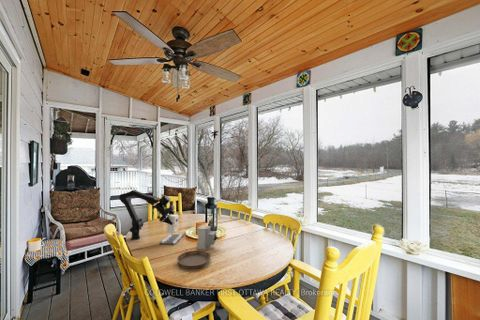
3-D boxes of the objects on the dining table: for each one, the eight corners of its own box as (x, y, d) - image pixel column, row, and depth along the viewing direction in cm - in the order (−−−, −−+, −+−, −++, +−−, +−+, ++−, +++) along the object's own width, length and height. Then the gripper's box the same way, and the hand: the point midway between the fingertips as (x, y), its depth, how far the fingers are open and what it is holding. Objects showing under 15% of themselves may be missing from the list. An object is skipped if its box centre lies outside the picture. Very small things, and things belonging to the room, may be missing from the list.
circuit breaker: (215, 250, 154) (215, 229, 155) (196, 248, 157) (196, 228, 158) (218, 246, 162) (218, 226, 162) (200, 245, 165) (200, 225, 165)
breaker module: (166, 232, 172) (168, 216, 173) (170, 230, 179) (171, 214, 179) (175, 233, 171) (176, 216, 172) (178, 230, 178) (179, 215, 178)
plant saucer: (212, 268, 129) (212, 262, 129) (177, 272, 123) (177, 266, 123) (208, 254, 149) (208, 249, 149) (177, 257, 143) (177, 252, 143)
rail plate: (159, 244, 165) (159, 241, 165) (170, 235, 185) (170, 232, 185) (174, 244, 164) (174, 241, 164) (183, 236, 184) (183, 233, 184)
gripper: (163, 204, 166) (176, 219, 165) (172, 200, 185) (185, 213, 184) (153, 214, 167) (166, 229, 166) (163, 209, 185) (175, 222, 184)
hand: (174, 223), depth 175 cm, fingers closed on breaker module, 7 cm apart
